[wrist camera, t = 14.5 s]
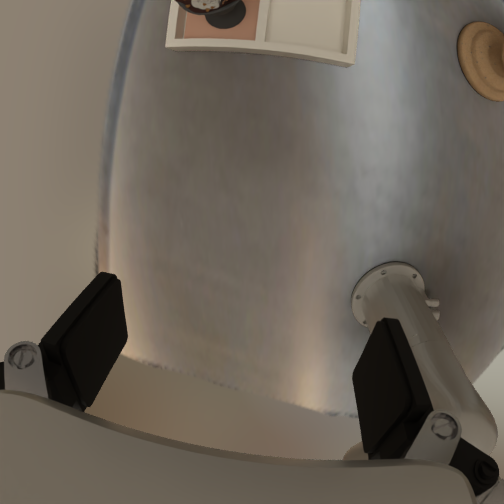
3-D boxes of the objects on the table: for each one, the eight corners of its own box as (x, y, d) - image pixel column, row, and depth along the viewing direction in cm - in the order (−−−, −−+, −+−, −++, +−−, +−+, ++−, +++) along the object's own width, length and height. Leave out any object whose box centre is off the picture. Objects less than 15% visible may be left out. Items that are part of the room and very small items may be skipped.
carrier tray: (353, -7, 26) (361, -17, 23) (346, 67, 32) (354, 64, 28) (185, -22, 27) (177, -32, 23) (175, 51, 32) (165, 47, 28)
